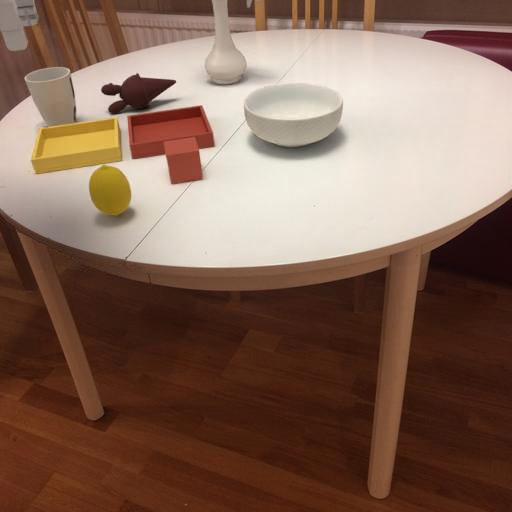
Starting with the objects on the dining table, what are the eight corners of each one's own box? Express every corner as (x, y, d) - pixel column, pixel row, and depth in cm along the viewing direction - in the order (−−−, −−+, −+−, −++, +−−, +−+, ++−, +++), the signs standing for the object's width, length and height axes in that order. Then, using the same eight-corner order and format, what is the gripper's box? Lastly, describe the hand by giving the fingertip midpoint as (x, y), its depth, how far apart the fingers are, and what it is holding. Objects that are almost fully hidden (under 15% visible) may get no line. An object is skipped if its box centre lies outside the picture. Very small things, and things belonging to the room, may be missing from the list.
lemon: (102, 205, 78) (89, 156, 73) (139, 204, 77) (128, 155, 72) (92, 227, 73) (77, 176, 68) (131, 225, 73) (118, 174, 68)
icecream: (167, 63, 109) (97, 82, 106) (174, 63, 103) (99, 84, 100) (177, 96, 112) (109, 116, 109) (184, 99, 106) (112, 120, 103)
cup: (89, 126, 102) (75, 74, 96) (48, 138, 98) (31, 85, 92) (75, 113, 107) (61, 64, 101) (36, 124, 104) (19, 74, 98)
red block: (171, 184, 81) (166, 155, 78) (168, 169, 85) (163, 141, 82) (203, 179, 82) (199, 150, 79) (198, 164, 86) (194, 136, 83)
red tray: (132, 159, 89) (129, 145, 88) (130, 128, 100) (127, 115, 98) (214, 146, 91) (213, 132, 90) (203, 117, 102) (202, 104, 100)
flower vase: (258, 93, 110) (250, -42, 95) (180, 86, 116) (161, -42, 101) (278, 72, 120) (274, -53, 104) (206, 67, 126) (192, -53, 110)
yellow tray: (35, 174, 87) (30, 159, 85) (43, 141, 97) (38, 128, 96) (121, 160, 89) (118, 146, 87) (120, 130, 99) (117, 116, 98)
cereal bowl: (328, 165, 83) (329, 123, 79) (231, 154, 88) (227, 114, 84) (350, 122, 96) (353, 84, 91) (265, 115, 101) (263, 78, 97)
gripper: (-40, -132, 53) (8, 16, 61) (-105, -130, 37) (-28, 70, 45) (25, -136, 53) (63, 10, 62) (-10, -137, 37) (48, 60, 46)
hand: (25, 35), depth 53 cm, fingers open, 8 cm apart
